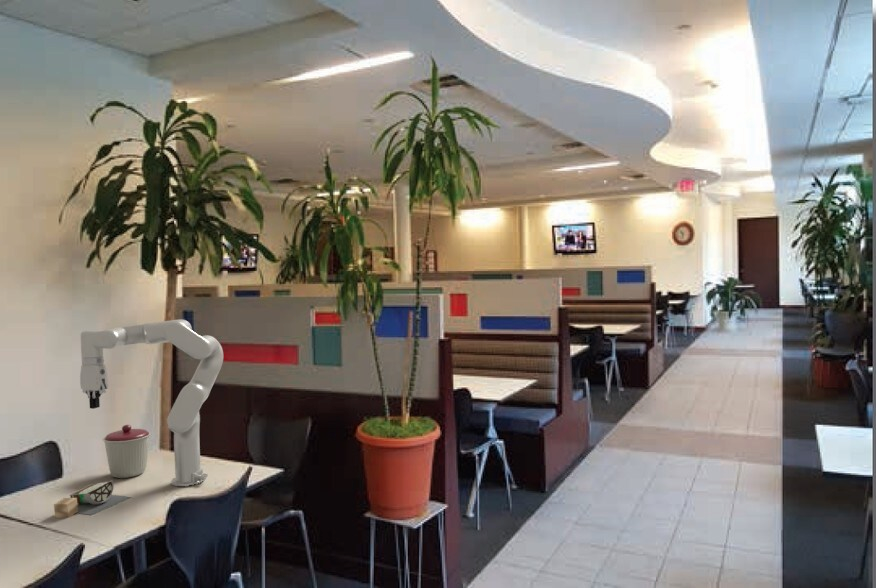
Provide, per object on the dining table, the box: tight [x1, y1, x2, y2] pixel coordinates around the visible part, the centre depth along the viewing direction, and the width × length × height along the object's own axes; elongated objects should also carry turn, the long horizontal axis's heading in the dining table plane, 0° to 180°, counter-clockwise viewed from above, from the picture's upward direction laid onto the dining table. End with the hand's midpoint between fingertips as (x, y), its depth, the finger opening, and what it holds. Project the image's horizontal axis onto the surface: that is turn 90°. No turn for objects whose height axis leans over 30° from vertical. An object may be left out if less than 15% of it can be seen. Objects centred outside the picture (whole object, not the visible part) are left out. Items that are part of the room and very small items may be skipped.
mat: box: [76, 494, 133, 516], centre depth 231 cm, size 12×18×1 cm, turn 161°
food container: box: [69, 480, 115, 505], centre depth 232 cm, size 12×6×10 cm
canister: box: [102, 424, 152, 479], centre depth 265 cm, size 18×18×21 cm
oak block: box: [53, 497, 79, 519], centre depth 221 cm, size 5×5×5 cm
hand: (94, 407), depth 248 cm, fingers closed
